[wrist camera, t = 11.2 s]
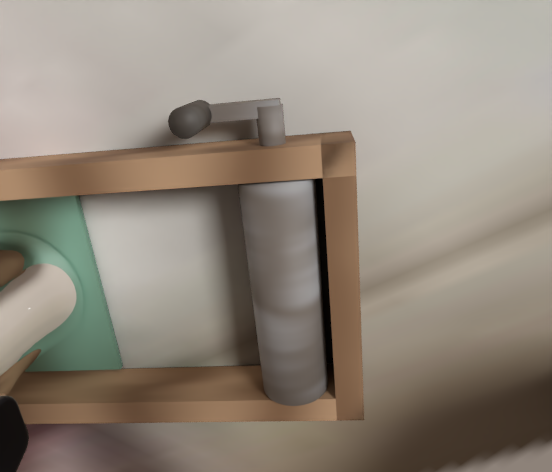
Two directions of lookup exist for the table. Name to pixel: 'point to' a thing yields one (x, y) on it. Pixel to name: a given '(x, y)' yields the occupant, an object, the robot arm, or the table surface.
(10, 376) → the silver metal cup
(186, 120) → the wooden roller tray
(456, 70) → the table surface
